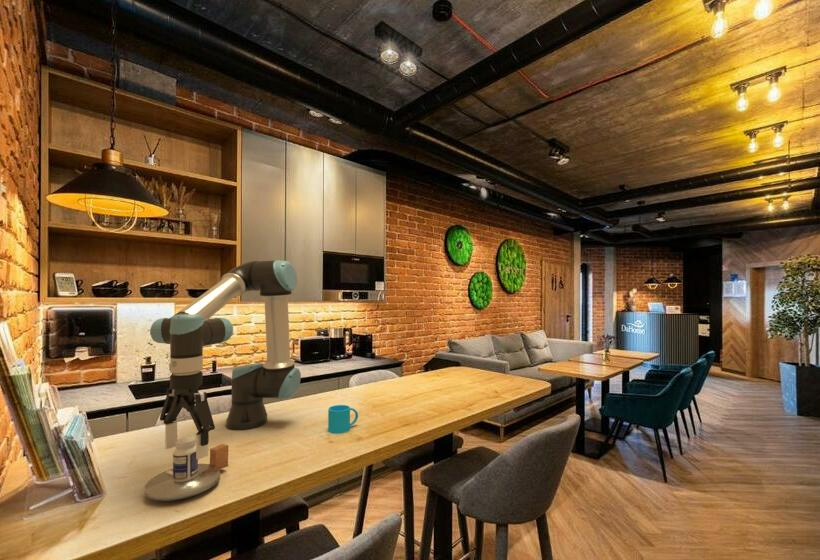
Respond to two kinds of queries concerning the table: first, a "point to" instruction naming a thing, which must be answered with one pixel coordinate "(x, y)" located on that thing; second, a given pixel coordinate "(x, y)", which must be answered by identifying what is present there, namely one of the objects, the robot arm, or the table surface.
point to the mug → (340, 419)
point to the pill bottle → (185, 459)
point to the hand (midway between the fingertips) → (186, 452)
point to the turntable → (207, 477)
